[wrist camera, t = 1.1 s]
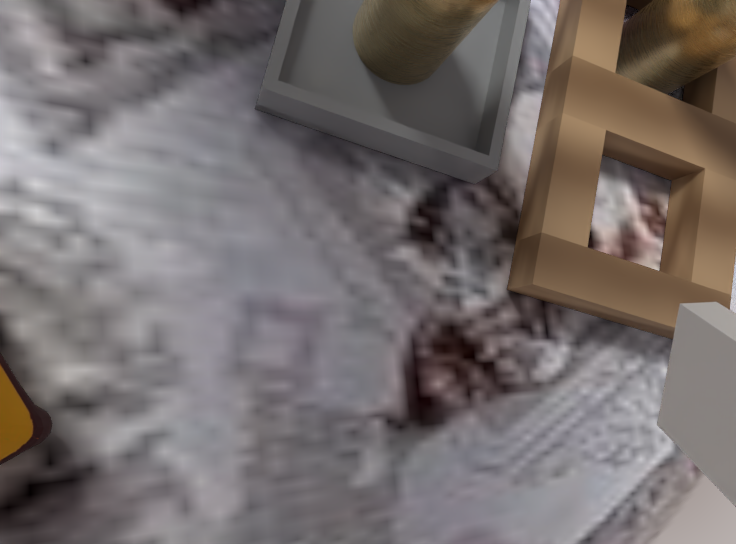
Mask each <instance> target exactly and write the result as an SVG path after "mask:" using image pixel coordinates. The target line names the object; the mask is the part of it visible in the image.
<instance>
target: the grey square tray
mask: <svg viewBox="0 0 736 544" xmlns="http://www.w3.org/2000/svg"><path fill="white" fill-rule="evenodd" d="M363 1H364V0H286V3H285V6H284V10H283V13H282V17H281V20H280V24H279V27H278V30H277V34H276V37H275V41H274V44H273V48H272V51H271V55H270V58H269V62H268V65H267V69H266V72H265V76H264V79H263V83H262V86H261V90H260V93H259V96H258V100H257V103H256V107H255V109H257V110H260V111H263V112H266V113H268V114H271V115H274V116H277V117H280V118H283V119H286V120H289V121H292V122H295V123H298V124H301V125H304V126H306V127H309V128H312V129H315V130H318V131H321V132H324V133H327V134H330V135H333V136H336V137H339V138H341V139H344V140H347V141H350V142H353V143H356V144H359V145H362V146H365V147H368V148H371V149H374V150H376V151H379V152H382V153H385V154H388V155H391V156H394V157H397V158H400V159H403V160H406V161H409V162H412V163H414V164H417V165H420V166H423V167H426V168H429V169H432V170H435V171H438V172H441V173H444V174H447V175H449V176H452V177H455V178H458V179H461V180H464V181H467V182H470V183H473V184H476V183H478V182H479V181H481V180H483V179H484V178H486V177H488V176H489V175H491V174H493V173H494V172H496V171H498V166H499V161H500V155H501V150H502V145H503V140H504V135H505V130H506V125H507V120H508V115H509V110H510V104H511V99H512V94H513V89H514V84H515V79H516V74H517V69H518V64H519V58H520V53H521V48H522V43H523V38H524V33H525V28H526V23H527V18H528V12H529V7H530V2H531V0H498V2H497V3H496V4H495V5H494V6H493V7H492V8H491V9H490V11H489V12H488V13H487V14H486V15H485V16H484V17H483V18H482V20H481V21H480V22H479V23H478V24H477V25H476V26H475V27H474V28H473V30H472V31H471V32H470V33H469V34H468V35H467V36H466V37H465V39H464V40H463V41H462V42H461V43H460V44H459V45H458V46H457V47H456V49H455V50H454V51H453V52H452V53H451V54H450V55H449V56H448V58H447V59H446V60H445V61H444V62H443V63H442V64H441V65H440V67H439V68H438V69H437V70H436V71H435V72H434V73H433V74H432V75H431V76H430V77H429V78H427V79H426V80H424V81H422V82H419V83H417V84H412V85H398V84H394V83H390V82H387V81H385V80H383V79H381V78H380V77H378V76H376V75H375V74H374V73H373V72H371V71H370V70H369V69H368V68H367V67H366V66H365V64H364V63H363V62H362V60H361V59H360V57H359V55H358V53H357V51H356V48H355V45H354V41H353V23H354V19H355V17H356V14H357V12H358V10H359V8H360V6H361V5H362V3H363Z"/></svg>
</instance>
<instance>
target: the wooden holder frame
mask: <svg viewBox="0 0 736 544" xmlns="http://www.w3.org/2000/svg"><path fill="white" fill-rule="evenodd" d="M652 1H653V0H560V5H559V11H558V16H557V21H556V27H555V32H554V38H553V43H552V49H551V54H550V59H549V65H548V70H547V76H546V81H545V86H544V92H543V97H542V103H541V108H540V114H539V119H538V124H537V130H536V135H535V141H534V146H533V151H532V157H531V162H530V168H529V173H528V179H527V184H526V189H525V195H524V200H523V206H522V211H521V216H520V222H519V227H518V233H517V238H516V244H515V249H514V254H513V260H512V265H511V271H510V276H509V281H508V287H507V290H510V291H513V292H517V293H520V294H523V295H527V296H530V297H533V298H537V299H540V300H543V301H547V302H550V303H553V304H557V305H560V306H563V307H567V308H570V309H573V310H577V311H580V312H583V313H587V314H590V315H593V316H597V317H600V318H603V319H607V320H610V321H613V322H617V323H620V324H623V325H627V326H630V327H633V328H637V329H640V330H643V331H647V332H650V333H653V334H657V335H660V336H663V337H666V338H670V339H673V337H674V332H675V326H676V321H677V316H678V310H679V305H680V304H681V303H702V302H718V303H719V304H721V305H723V306H724V307H726V308H727V309H729V310H730V301H731V292H732V283H733V274H734V264H735V255H736V57H735V58H733V59H731V60H729V61H728V62H726V63H724V64H722V65H720V66H719V67H717V68H715V69H713V70H711V71H709V72H708V73H706V74H704V75H702V76H700V77H698V78H697V79H695V80H693V81H691V82H689V83H687V84H686V85H684V92H683V100H682V101H681V100H679V99H676V98H674V97H671V96H669V95H667V94H664V93H662V92H660V91H657V90H655V89H652V88H650V87H648V86H645V85H643V84H640V83H638V82H636V81H633V80H631V79H628V78H626V77H624V76H621V75H619V74H616V73H615V71H616V65H617V59H618V52H619V46H620V40H621V34H622V27H623V21H624V15H625V8H626V4H627V5H629V6H632V7H634V8H636V9H638V10H641V9H643V8H644V7H645V6H647V5H648V4H649V3H651V2H652ZM602 155H605V156H607V157H610V158H613V159H615V160H618V161H621V162H623V163H626V164H629V165H631V166H634V167H636V168H639V169H642V170H644V171H647V172H650V173H652V174H655V175H658V176H660V177H663V178H666V179H668V180H671V181H672V182H671V190H670V197H669V205H668V212H667V220H666V227H665V234H664V242H663V249H662V257H661V264H660V271H657V270H654V269H651V268H648V267H645V266H642V265H639V264H636V263H633V262H630V261H627V260H624V259H621V258H618V257H615V256H612V255H609V254H606V253H603V252H600V251H597V250H594V249H591V248H588V240H589V234H590V228H591V222H592V215H593V209H594V203H595V196H596V190H597V184H598V178H599V171H600V165H601V159H602Z"/></svg>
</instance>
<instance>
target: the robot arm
mask: <svg viewBox="0 0 736 544" xmlns="http://www.w3.org/2000/svg"><path fill="white" fill-rule="evenodd" d="M657 425H658V426H659V427H660V428H661V429H662V430H663V431H664V433H665V434H666V435H667V436H668V437H669V438H670V439H671V440H672V441H673V442H674V443H675V444H676V445H677V446H678V447H679V448H680V449H681V450H682V451H683V452H684V453H685V454H686V456H687V457H688V458H689V459H690V460H691V461H692V462H693V463H694V464H695V465H696V466H697V467H698V468H699V469H700V470H701V471H702V472H703V473H704V474H705V475H706V476H707V477H708V478H709V480H711V482H712V483H713V484H714V485H715V486H716V487H717V488H718V489H719V490H720V491H721V492H722V493H723V494H724V495H725V496H726V497H727V498H728V499H729V500H730V501H731V502H732V504H733V505H734V506H735V507H736V313H734V312H732V311H731V310H729V309H727V308H726V307H724V306H723V305H721V304H719V303H718V302H702V303H681V304H680V305H679V310H678V316H677V321H676V326H675V332H674V337H673V342H672V348H671V353H670V358H669V364H668V369H667V374H666V380H665V385H664V390H663V395H662V401H661V406H660V411H659V417H658V422H657Z"/></svg>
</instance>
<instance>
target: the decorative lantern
mask: <svg viewBox="0 0 736 544" xmlns="http://www.w3.org/2000/svg"><path fill="white" fill-rule="evenodd" d="M51 428H52V421H51V417H50V416H49V414H48V413H47V412H46V411H45V410H43V409H41V408H40V407H38V406H36V405H34V403H33V402H32V401H31V399H30V398H29V396H28V395H27V394H26V392H25V391H24V390H23V388H22V387H21V385H20V384H19V382H18V381H17V379H16V378H15V376H14V374H13V373H12V371H11V369H10V368H9V366H8V364H7V363H6V361H5V360H4V358H3V356H2V355H1V353H0V465H1V464H3V463H5V462H6V461H8V460H10V459H12V458H13V457H15V456H17V455H19V454H20V453H22V452H24V451H26V450H27V449H29V448H31V447H33V446H35V445H37V444H39V443H41V442H42V441H43V440H44V439H45V438H46V437H47V436H48V435H49V434H50V432H51Z"/></svg>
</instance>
